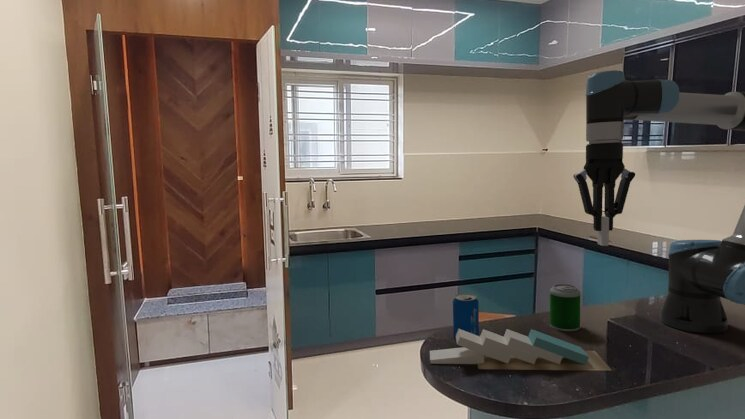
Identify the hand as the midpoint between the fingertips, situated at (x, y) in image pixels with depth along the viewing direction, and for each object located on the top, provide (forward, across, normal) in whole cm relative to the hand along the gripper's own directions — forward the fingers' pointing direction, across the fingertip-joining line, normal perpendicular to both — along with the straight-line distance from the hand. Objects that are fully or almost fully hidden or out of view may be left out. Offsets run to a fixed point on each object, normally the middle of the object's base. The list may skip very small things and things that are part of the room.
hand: (602, 244), depth 105 cm
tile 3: (+24, +18, +7) cm, 30 cm away
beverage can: (+26, +31, -6) cm, 41 cm away
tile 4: (+24, +23, +7) cm, 34 cm away
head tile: (+24, +6, +7) cm, 26 cm away
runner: (+26, +16, +7) cm, 31 cm away
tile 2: (+24, +12, +7) cm, 28 cm away
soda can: (+26, +4, -14) cm, 30 cm away
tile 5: (+24, +29, +7) cm, 38 cm away
